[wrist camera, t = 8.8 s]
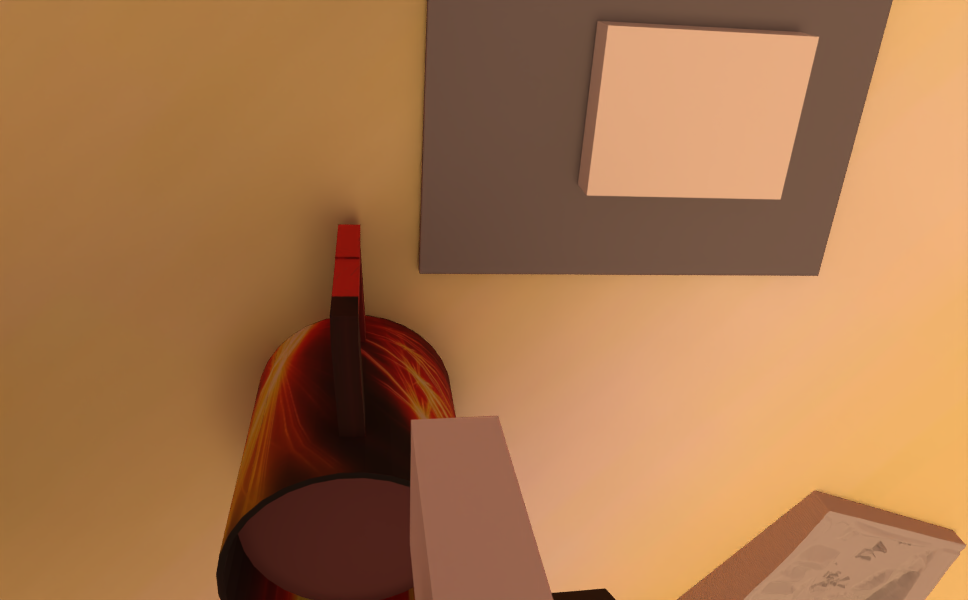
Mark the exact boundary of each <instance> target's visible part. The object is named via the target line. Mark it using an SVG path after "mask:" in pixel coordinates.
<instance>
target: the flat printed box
mask: <svg viewBox="0 0 968 600" xmlns="http://www.w3.org/2000/svg"><path fill="white" fill-rule="evenodd" d="M965 547H966V545H965V543H964V542H963V541H962V540H961V539H960V538H959V537H958V536H957V535H956V533H955V532H954V531H953V530H950V529H946V528H943V527H940V526H937V525H933V524H929V523H925V522H922V521H919V520H915V519H911V518H908V517H905V516H902V515H898V514H894V513H891V512H888V511H884V510H881V509H878V508H874V507H870V506H867V505H864V504H860V503H856V502H853V501H850V500H846V499H842V498H839V497H836V496H832V495H828V494H825V493H822V492H818V491H813V492H812V493H811V494H810V495H808V496H807V497H806V498H804V499H803V500H802V501H801V502H800V503H798V504H797V505H795V506H794V507H793V508H792V509H790V510H789V511H788V512H787V513H786V514H784V515H783V516H782V517H781V518H779V519H778V520H777V521H775V522H774V523H773V524H772V525H770V526H769V527H768V528H767V529H765V530H764V531H763V532H762V533H761V534H759V535H758V536H757V537H755V538H754V539H753V540H752V541H751V542H749V543H748V544H747V545H746V546H744V547H743V548H741V549H740V550H739V551H738V552H737V553H735V554H734V555H733V556H731V557H730V558H729V559H728V560H726V561H725V562H724V563H723V564H722V565H720V566H719V567H717V568H716V569H715V570H714V571H713V572H711V573H710V574H709V575H707V576H706V577H705V578H704V579H702V580H701V581H700V582H699V583H697V584H696V585H695V586H694V587H692V588H691V589H690V590H689V591H687V592H686V593H685V594H684V595H682V596H681V597H680V598H679V599H677V600H925V599H926V597H927V596H928V595H929V594H930V592H931V591H932V590H933V589H934V587H935V586H936V585H937V583H938V582H939V581H940V579H941V578H942V576H943V575H944V574H945V572H946V571H947V570H948V568H949V567H950V566H951V564H952V563H953V562H954V561H955V560H956V559H957V557H958V556H959V555H960V551H962V550H963V549H964V548H965Z"/></svg>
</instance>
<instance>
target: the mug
mask: <svg viewBox="0 0 968 600" xmlns="http://www.w3.org/2000/svg"><path fill="white" fill-rule="evenodd" d="M440 418H456V416H455V410H454V404H453V399H452V393H451V388H450V382H449V376H448V373H447V371H446V369H445V366H444V364H443V362H442V360H441V358H440V357H439V355H438V354H437V353H436V351H435V350H434V349H433V347H432V346H431V345H430V344H429V343H428V342H426V341H425V340H424V339H423V338H422V337H421V336H420V335H419V334H417V333H415V332H414V331H412V330H410V329H408V328H407V327H405V326H403V325H401V324H398V323H395V322H393V321H390V320H387V319H384V318H378V317H372V316H366V315H365V308H364V293H363V278H362V263H361V249H360V225H342V224H338V234H337V245H336V255H335V268H334V278H333V289H332V299H331V310H330V318H329V319H325V320H322V321H319V322H317V323H314V324H311V325H309V326H307V327H305V328H303V329H302V330H300V331H298V332H297V333H295V334H293V335H292V336H290V337H289V338H288V339H287V340H286V341H285V342H284V343H283V344H282V345H280V346H279V347H278V348H277V350H276V351H275V353H274V354H273V355H272V357H271V358H270V359H269V361H268V362H267V365H266V367H265V369H264V372H263V374H262V376H261V380H260V384H259V388H258V393H257V397H256V401H255V405H254V410H253V414H252V418H251V422H250V427H249V431H248V435H247V439H246V444H245V448H244V452H243V457H242V461H241V465H240V469H239V474H238V478H237V482H236V486H235V491H234V495H233V499H232V503H231V508H230V512H229V516H228V520H227V525H226V529H225V533H224V538H223V542H222V546H221V550H220V555H219V561H218V567H217V573H216V577H217V586H218V594H219V597H220V600H415V593H414V582H413V572H412V561H411V551H410V474H411V420H418V419H440Z"/></svg>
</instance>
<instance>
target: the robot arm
mask: <svg viewBox="0 0 968 600" xmlns="http://www.w3.org/2000/svg"><path fill="white" fill-rule="evenodd" d="M410 551H411V561H412V572H413V582H414V593H415V600H615V598H614V597H613V596H612V595H611V594H610V593H609V592H608V591H607V590H606V589H595V590H583V591H571V592H559V593H551V590H550V587H549V584H548V580H547V577H546V574H545V570H544V567H543V564H542V560H541V557H540V554H539V550H538V547H537V544H536V540H535V537H534V534H533V530H532V527H531V524H530V520H529V517H528V514H527V511H526V507H525V504H524V501H523V497H522V494H521V491H520V487H519V484H518V481H517V477H516V474H515V471H514V467H513V464H512V461H511V457H510V454H509V451H508V447H507V444H506V441H505V437H504V434H503V431H502V427H501V424H500V421H499V417H498V416H483V417H461V418H440V419H418V420H411V474H410Z"/></svg>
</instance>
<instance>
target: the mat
mask: <svg viewBox="0 0 968 600" xmlns="http://www.w3.org/2000/svg"><path fill="white" fill-rule="evenodd" d="M892 1H893V0H427V25H426V58H425V90H424V122H423V154H422V186H421V218H420V250H419V272H420V274H594V275H780V276H818V274H819V270H820V267H821V263H822V259H823V256H824V252H825V248H826V244H827V241H828V237H829V233H830V230H831V226H832V222H833V219H834V215H835V211H836V208H837V204H838V200H839V196H840V193H841V189H842V185H843V182H844V178H845V174H846V171H847V167H848V163H849V160H850V156H851V152H852V149H853V145H854V141H855V137H856V134H857V130H858V126H859V123H860V119H861V115H862V112H863V108H864V104H865V101H866V97H867V93H868V89H869V86H870V82H871V78H872V75H873V71H874V67H875V64H876V60H877V56H878V53H879V49H880V45H881V41H882V38H883V34H884V30H885V27H886V23H887V19H888V16H889V12H890V8H891V5H892ZM597 21H610V22H628V23H646V24H664V25H682V26H700V27H718V28H736V29H754V30H773V31H791V32H802V33H806V34H810V35H814V36H818V37H819V40H818V44H817V48H816V52H815V57H814V61H813V65H812V69H811V74H810V78H809V82H808V86H807V90H806V95H805V99H804V103H803V107H802V111H801V116H800V120H799V124H798V128H797V132H796V137H795V141H794V145H793V149H792V153H791V158H790V162H789V166H788V170H787V175H786V179H785V183H784V187H783V191H782V196H781V200H779V199H731V198H683V197H635V196H587V195H586V194H585V193H584V191H583V190H582V189H581V188H580V186H579V185H578V179H579V171H580V163H581V154H582V146H583V138H584V129H585V121H586V113H587V104H588V96H589V88H590V79H591V71H592V63H593V55H594V46H595V38H596V30H597Z"/></svg>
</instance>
